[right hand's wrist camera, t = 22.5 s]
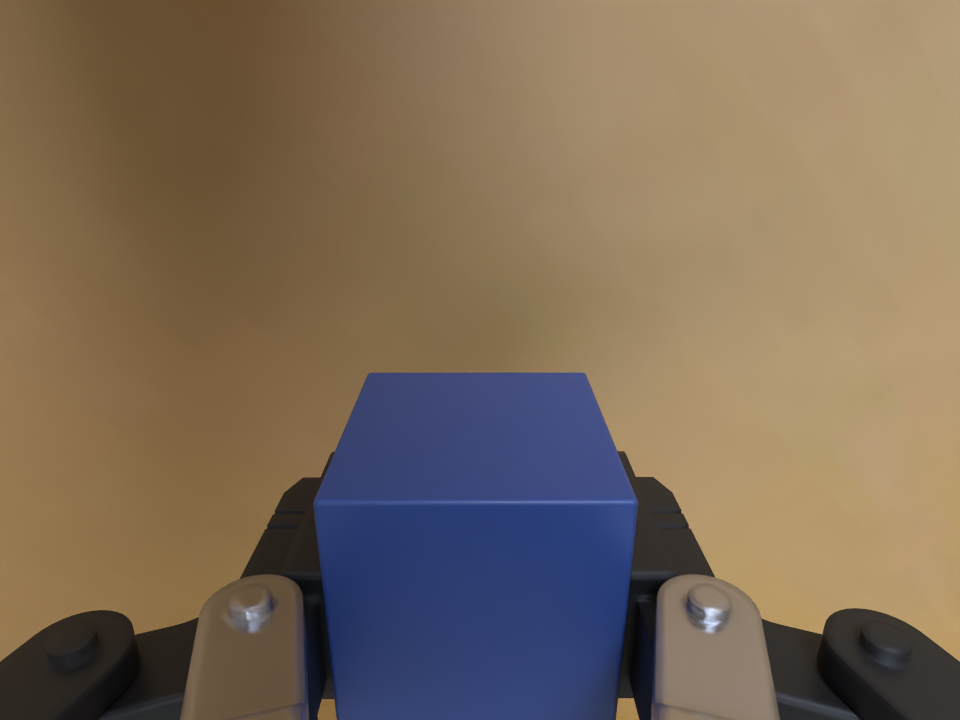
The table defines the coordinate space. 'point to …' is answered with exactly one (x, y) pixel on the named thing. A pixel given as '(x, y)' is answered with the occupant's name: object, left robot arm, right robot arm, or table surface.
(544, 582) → the block
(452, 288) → the table surface
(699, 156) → the table surface
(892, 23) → the table surface
